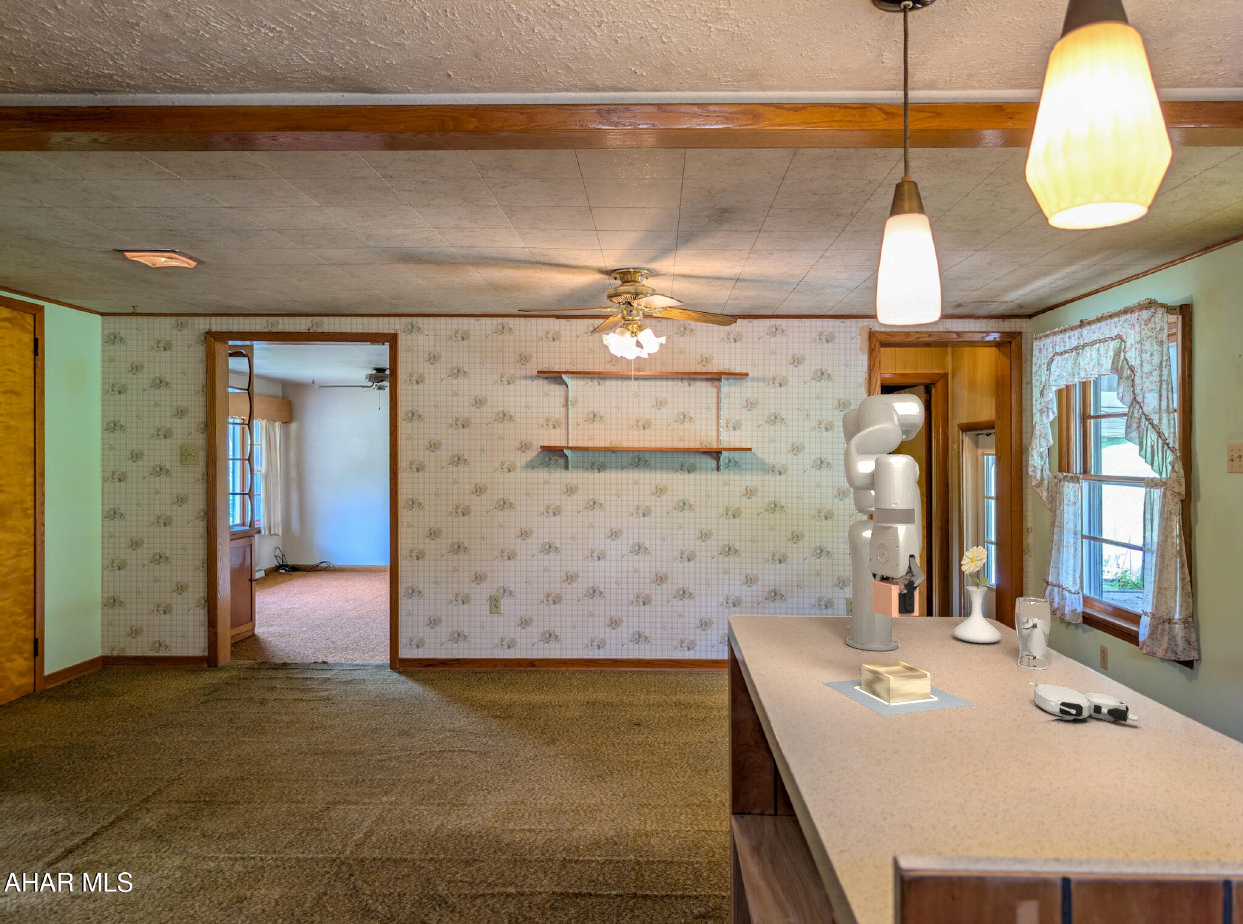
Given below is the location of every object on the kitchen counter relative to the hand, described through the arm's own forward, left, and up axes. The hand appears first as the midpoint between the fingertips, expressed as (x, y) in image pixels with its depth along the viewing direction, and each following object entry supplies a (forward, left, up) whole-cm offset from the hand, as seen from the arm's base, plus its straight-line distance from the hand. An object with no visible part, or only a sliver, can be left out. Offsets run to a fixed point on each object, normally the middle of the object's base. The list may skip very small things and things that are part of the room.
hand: (895, 608), depth 141 cm
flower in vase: (-32, +49, -18) cm, 61 cm away
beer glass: (-10, +44, -18) cm, 48 cm away
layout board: (0, 0, -17) cm, 17 cm away
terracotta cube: (0, 0, -1) cm, 1 cm away
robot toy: (+18, +26, -18) cm, 36 cm away
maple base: (0, 0, -16) cm, 16 cm away
